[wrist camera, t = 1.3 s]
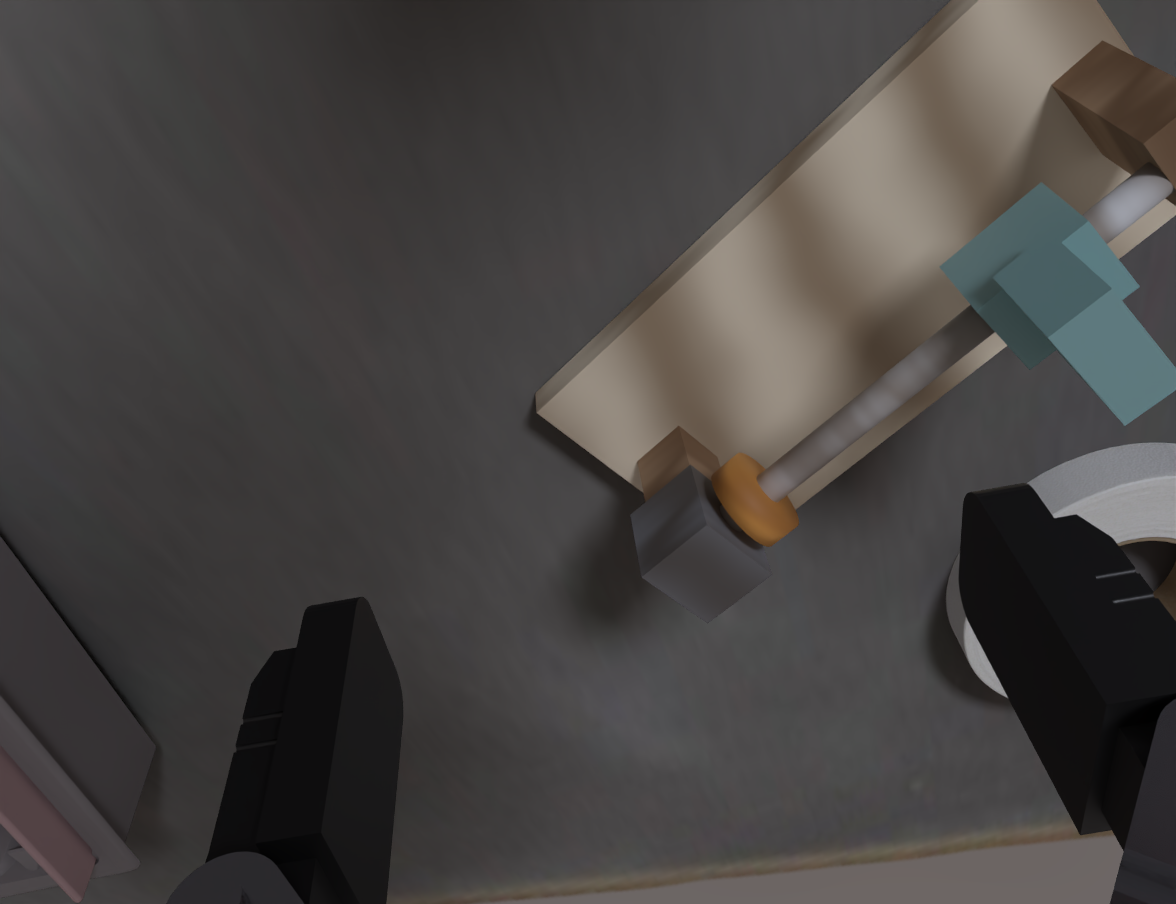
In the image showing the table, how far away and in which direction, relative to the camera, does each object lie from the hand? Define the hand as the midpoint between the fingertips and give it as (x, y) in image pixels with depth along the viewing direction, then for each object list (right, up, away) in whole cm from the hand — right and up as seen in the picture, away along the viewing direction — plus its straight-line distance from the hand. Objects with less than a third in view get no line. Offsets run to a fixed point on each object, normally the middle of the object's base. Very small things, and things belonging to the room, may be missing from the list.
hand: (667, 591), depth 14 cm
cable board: (+9, +8, +27) cm, 30 cm away
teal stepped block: (+13, +8, +21) cm, 26 cm away
